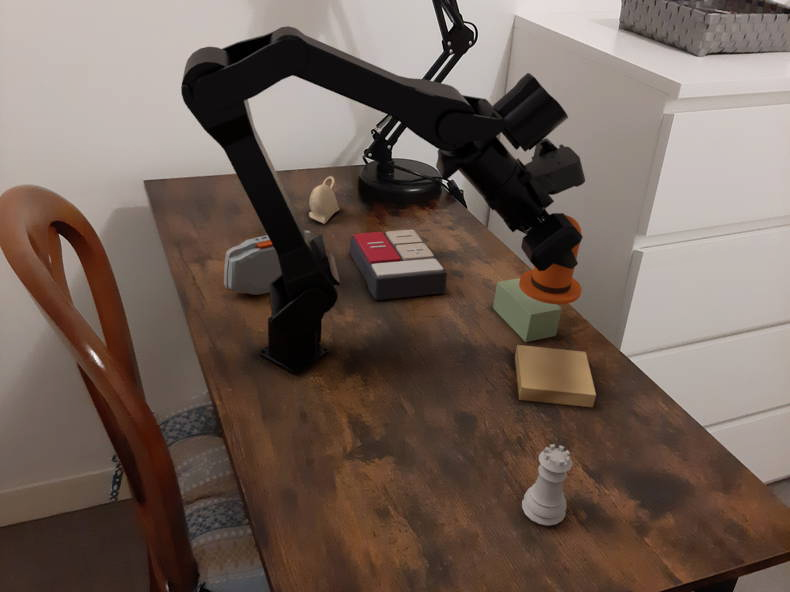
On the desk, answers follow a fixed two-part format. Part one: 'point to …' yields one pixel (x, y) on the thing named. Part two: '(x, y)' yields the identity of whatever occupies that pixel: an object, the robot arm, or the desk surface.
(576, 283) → the hat
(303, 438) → the desk surface
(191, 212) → the desk surface
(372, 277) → the calculator
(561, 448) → the rook chess piece
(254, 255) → the handheld gaming console
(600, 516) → the desk surface
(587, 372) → the stand
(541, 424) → the desk surface
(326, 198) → the decorative ornament
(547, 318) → the sage box
